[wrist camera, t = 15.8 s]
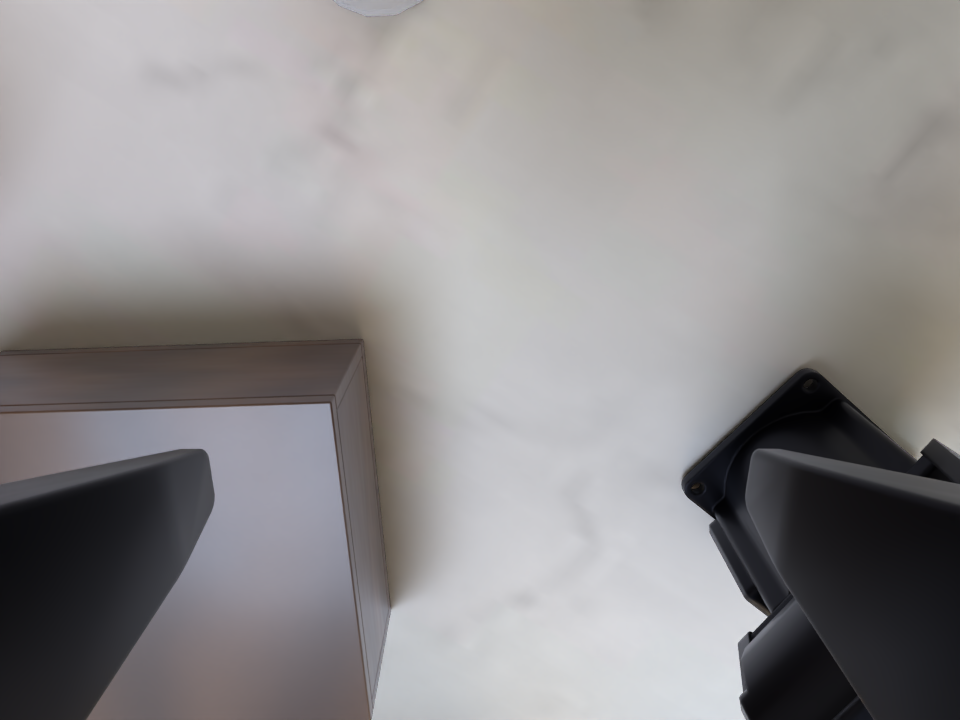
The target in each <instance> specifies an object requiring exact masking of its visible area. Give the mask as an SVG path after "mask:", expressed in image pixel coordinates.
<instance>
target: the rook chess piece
mask: <svg viewBox="0 0 960 720" xmlns="http://www.w3.org/2000/svg"><path fill="white" fill-rule="evenodd" d="M333 1H334V2H335V3H336V4H337V5H338V6H341V7H344V8H346V9H349V10H351V11H354V12H356V13H359V14H361V15H364V16H367V17H370V16H388V15H397V14H399V13H401V12H403V11H405V10H407V9H409V8H410V7H412V6H414V5H416V4H418V3H420V2H422V1H423V0H333Z"/></svg>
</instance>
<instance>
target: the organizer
mask: <svg viewBox="0 0 960 720" xmlns="http://www.w3.org/2000/svg"><path fill="white" fill-rule="evenodd" d="M177 449H203V450H205V451H206V452H207V454H208V457H209V461H210V467H211V474H212V480H213V486H214V493H215V500H214V506H213V509H212V512H211V514H210V516H209V518H208V520H207V522H206V524H205V526H204V529H203V531H202V533H201V535H200V537H199V539H198V541H197V543H196V545H195V547H194V549H193V552H192V554H191V556H190V558H189V560H188V562H187V564H186V566H185V568H184V569H183V571H182V573H181V575H180V576H179V578H178V579H177V581H176V583H175V584H174V586H173V587H172V589H171V590H170V592H169V594H168V595H167V597H166V598H165V600H164V601H163V603H162V604H161V606H160V607H159V609H158V610H157V612H156V614H155V615H154V617H153V618H152V620H151V621H150V623H149V624H148V626H147V627H146V629H145V630H144V632H143V633H142V635H141V637H140V638H139V640H138V641H137V643H136V644H135V646H134V647H133V649H132V650H131V652H130V653H129V655H128V657H127V658H126V660H125V661H124V663H123V664H122V666H121V667H120V669H119V670H118V672H117V673H116V675H115V677H114V678H113V680H112V681H111V683H110V684H109V686H108V687H107V689H106V690H105V692H104V693H103V695H102V696H101V698H100V700H99V701H98V703H97V704H96V706H95V707H94V709H93V710H92V712H91V713H90V715H89V716H88V718H87V720H371V719H372V714H373V708H374V702H375V697H376V691H377V686H378V680H379V674H380V669H381V663H382V658H383V652H384V646H385V641H386V635H387V630H388V624H389V618H390V613H391V607H390V598H389V588H388V578H387V568H386V558H385V549H384V539H383V529H382V519H381V509H380V500H379V490H378V480H377V470H376V460H375V451H374V441H373V431H372V421H371V411H370V402H369V392H368V382H367V372H366V362H365V353H364V343H363V339H350V340H320V341H291V342H261V343H232V344H202V345H173V346H143V347H114V348H85V349H55V350H26V351H1V352H0V484H4V483H9V482H15V481H20V480H25V479H30V478H35V477H40V476H45V475H50V474H55V473H60V472H65V471H70V470H76V469H81V468H86V467H91V466H96V465H101V464H106V463H111V462H116V461H121V460H126V459H132V458H137V457H142V456H147V455H152V454H157V453H162V452H167V451H172V450H177Z"/></svg>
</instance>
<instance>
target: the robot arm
mask: <svg viewBox="0 0 960 720" xmlns="http://www.w3.org/2000/svg"><path fill="white" fill-rule="evenodd" d="M809 379H813V382H812V384H811V385H810V386H809V387H806V388H803V387H804V383H805V382H806V381H807V380H809ZM920 453H921V454H923V456H922V457H921V458H920V459H919V460H918V461H917V460H916V459H915V458H914V457H912V456H911V455H910V454H909V453H908V452H906V451H905V450H904V449H903V448H901V447H900V446H899V445H898V444H896V443H895V442H894V441H893V440H892V439H891V438H890V437H889V436H888V435H886V434H885V433H884V432H883V431H882V430H881V429H880V428H879V427H878V426H877V425H876V424H874V423H873V422H872V421H871V420H870V419H869V418H868V417H867V416H866V415H865V414H863V413H862V412H861V411H860V410H859V409H858V408H857V407H856V406H855V405H854V404H852V403H851V402H850V401H849V400H848V399H847V398H846V397H845V396H844V395H843V394H842V393H840V392H839V391H838V390H837V389H836V388H835V387H834V386H833V385H832V384H831V383H829V382H828V381H827V380H826V379H825V378H824V377H823V376H822V375H821V374H819V373H818V372H817V371H815V370H813V369H809V368H806V369H802V370H800V371H799V372H797V373H796V374H795V375H794V376H793V377H792V378H790V379H789V380H788V381H787V382H786V383H785V384H784V385H783V386H782V387H781V388H780V389H779V390H777V391H776V392H775V393H774V394H773V395H772V396H771V397H770V398H769V399H768V400H767V401H766V402H765V403H763V404H762V405H761V406H760V407H759V408H758V409H757V410H756V411H755V412H754V413H753V414H752V415H751V416H749V417H748V418H747V419H746V420H745V421H744V422H743V423H742V424H741V425H740V426H739V427H738V428H737V429H735V430H734V431H733V432H732V433H731V434H730V435H729V436H728V437H727V438H726V439H725V440H724V441H723V442H721V443H720V444H719V445H718V446H717V447H716V448H715V449H714V450H713V451H712V452H711V453H710V454H709V455H707V456H706V457H705V458H704V459H703V460H702V461H701V462H700V463H699V464H698V465H697V466H696V467H695V468H693V469H692V470H691V471H690V472H689V473H688V474H687V475H686V476H685V477H684V479H683V480H682V484H681V485H682V489H683V491H684V493H685V495H686V496H687V497H688V498H689V499H690V500H692V501H693V502H694V503H695V504H697V505H698V506H699V507H700V508H702V509H703V510H704V511H705V512H707V513H708V514H709V515H710V516H712V517H713V518H714V519H715V520H714V521H713V522H712V523H711V524H710V525H709V530H710V534H711V536H712V538H713V540H714V542H715V544H716V545H717V547H718V549H719V551H720V553H721V555H722V557H723V559H724V560H725V562H726V564H727V566H728V568H729V570H730V572H731V573H732V575H733V577H734V579H735V581H736V583H737V585H738V587H739V588H740V590H741V592H742V594H743V596H744V598H745V599H746V600H747V601H748V602H750V603H751V604H752V605H753V606H755V607H756V608H757V609H759V610H760V611H761V612H763V613H764V614H765V615H766V616H768V617H767V618H766V620H765V621H764V622H763V623H762V624H761V625H760V626H759V627H758V628H757V629H756V630H755V631H754V632H748V633H747V634H746V635H745V636H744V637H743V638H742V639H741V640H740V642H739V643H738V650H739V659H740V668H741V677H742V686H743V693H742V694H741V695H740V697H739V699H740V705H741V711H742V713H743V715H744V717H745V719H746V720H960V455H959V454H957V453H956V452H954V451H953V450H951V449H949V448H948V447H946V446H945V445H943V444H942V443H940V442H939V441H937V440H936V439H934V438H933V439H932V440H931V441H930V442H929V444H928V445H927V446H926V447H925V448H924V449H923V450H922V451H921V452H920ZM696 483H701V485H700V487H699V488H697V489H691V487H692V486H693V485H694V484H696ZM214 500H215V493H214V486H213V480H212V474H211V467H210V461H209V457H208V454H207V452H206V451H205V450H203V449H177V450H172V451H167V452H162V453H157V454H152V455H147V456H142V457H137V458H132V459H126V460H121V461H116V462H111V463H106V464H101V465H96V466H91V467H86V468H81V469H76V470H70V471H65V472H60V473H55V474H50V475H45V476H40V477H35V478H30V479H25V480H20V481H15V482H9V483H4V484H0V720H87V718H88V716H89V715H90V713H91V712H92V710H93V709H94V707H95V706H96V704H97V703H98V701H99V700H100V698H101V696H102V695H103V693H104V692H105V690H106V689H107V687H108V686H109V684H110V683H111V681H112V680H113V678H114V677H115V675H116V673H117V672H118V670H119V669H120V667H121V666H122V664H123V663H124V661H125V660H126V658H127V657H128V655H129V653H130V652H131V650H132V649H133V647H134V646H135V644H136V643H137V641H138V640H139V638H140V637H141V635H142V633H143V632H144V630H145V629H146V627H147V626H148V624H149V623H150V621H151V620H152V618H153V617H154V615H155V614H156V612H157V610H158V609H159V607H160V606H161V604H162V603H163V601H164V600H165V598H166V597H167V595H168V594H169V592H170V590H171V589H172V587H173V586H174V584H175V583H176V581H177V579H178V578H179V576H180V575H181V573H182V571H183V569H184V568H185V566H186V564H187V562H188V560H189V558H190V556H191V554H192V552H193V549H194V547H195V545H196V543H197V541H198V539H199V537H200V535H201V533H202V531H203V529H204V526H205V524H206V522H207V520H208V518H209V516H210V514H211V512H212V509H213V506H214Z"/></svg>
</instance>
